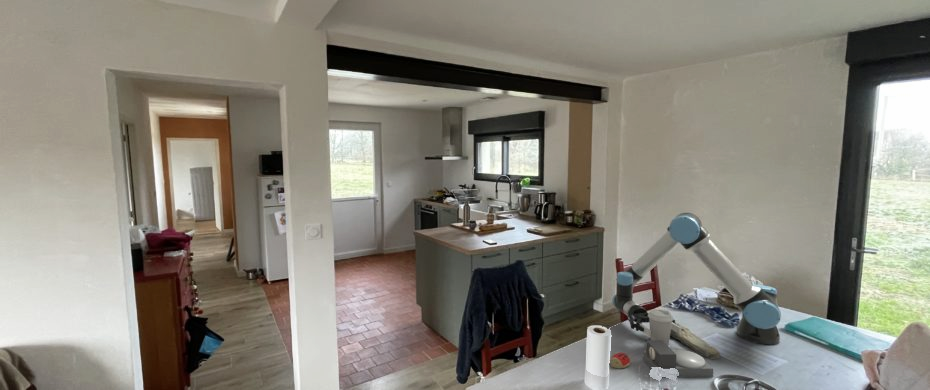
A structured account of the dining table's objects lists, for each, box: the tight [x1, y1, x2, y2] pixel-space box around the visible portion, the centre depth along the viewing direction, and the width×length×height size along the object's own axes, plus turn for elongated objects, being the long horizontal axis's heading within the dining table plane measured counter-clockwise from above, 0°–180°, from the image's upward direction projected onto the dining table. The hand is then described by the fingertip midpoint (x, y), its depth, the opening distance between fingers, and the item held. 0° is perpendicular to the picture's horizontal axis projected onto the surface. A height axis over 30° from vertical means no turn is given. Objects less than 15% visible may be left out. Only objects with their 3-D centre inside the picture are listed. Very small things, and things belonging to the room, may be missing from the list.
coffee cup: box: [648, 308, 674, 348], centre depth 160 cm, size 10×10×15 cm
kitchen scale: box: [642, 339, 714, 378], centre depth 144 cm, size 20×12×8 cm, turn 88°
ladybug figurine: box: [609, 352, 631, 370], centre depth 148 cm, size 7×10×4 cm
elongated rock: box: [670, 322, 721, 360], centre depth 167 cm, size 35×5×10 cm
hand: (665, 332), depth 157 cm, fingers open, 13 cm apart
